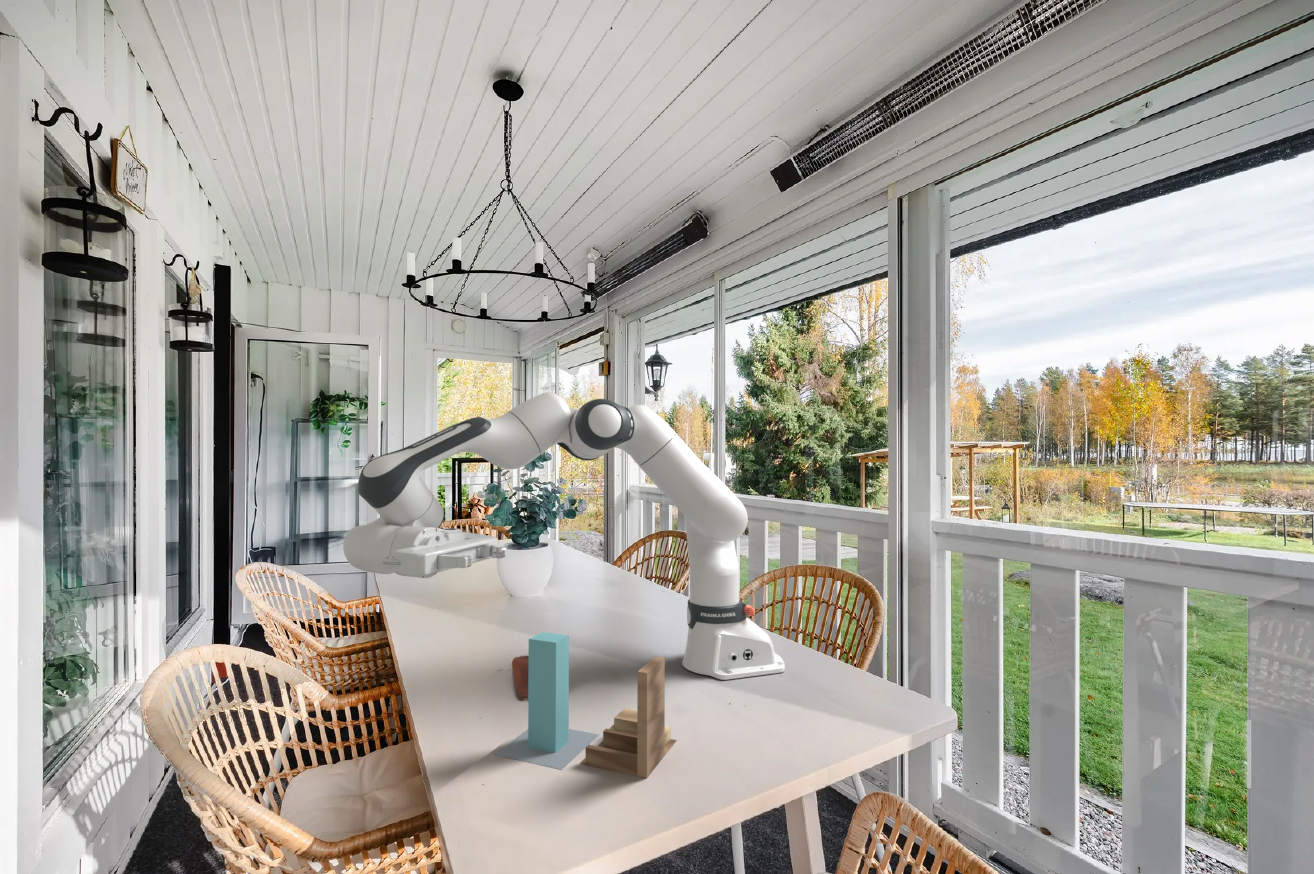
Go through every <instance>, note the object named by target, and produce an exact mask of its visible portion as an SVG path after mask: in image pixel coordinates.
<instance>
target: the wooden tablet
mask: <svg viewBox="0 0 1314 874" xmlns="http://www.w3.org/2000/svg"><path fill="white" fill-rule="evenodd" d="M511 665H512V670H513V676H514V682H515V688H516V694H517V697H518V698H519V700H520V701H523V702H525V701H528V671H529V655H522V656H521V655H520V656H515V657H514V658H513V660H512V662H511Z"/></svg>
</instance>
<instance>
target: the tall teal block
mask: <svg viewBox="0 0 1314 874" xmlns="http://www.w3.org/2000/svg"><path fill="white" fill-rule="evenodd" d="M528 656H529V671H528V700H527V701H528V706H527V708H528V711H527V712H528V714H527V715H528V717H527V718H528V719H527V722H528V723H527V726H528V727H527V730H528V747H531V748H536V749H540V750H545V751H550V752H555V753H556V752H557V751H558V750H559V749H560V748H562V747H563V746H564V745H565V744H566V743H567V742H568V741H569V729H570V727H569V723H570V721H569V720H570V719H569V717H570V716H569V712H570V710H569V709H570V707H569V706H570V702H569V701H570V699H569V697H570V693H569V691H570V688H569V687H570V670H569V669H570V665H569V664H570V635H569V634H562V633H553V632H546V631H541V632H540V633H537V634H535V635H534V636H531V637H530V638H528Z"/></svg>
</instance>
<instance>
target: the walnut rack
mask: <svg viewBox="0 0 1314 874" xmlns="http://www.w3.org/2000/svg"><path fill="white" fill-rule="evenodd" d="M665 660H666V658H665V657H661V656H654V657H653V658H652V659H651V660H649V661H648V662H647V663H645V665H644V666H642V667H641V668H640V669H639V670H638V671H637V681H636V682H637V688H636V689H637V699H636V700H637V703H636V704H637V707H636V708H637V709H636V710H637V734H632V733H627V732H621V731H616V730H611V729H609V728H605V729H604V730H603V731H602V741H601V742H600V743H598V745H593V744H589V745H588V746H587V747H586V748H585V758H583V759H582V760H581V761H580V762H579V765H583V766H588V767H592V768H596V769H601V770H606V771H610V772H611V771H612V772H616V773H619V774H623V775H624V774H625V775H629V776H632V777H633V776H634V777H638V778H642V779H648V778H649V776H650V775H651V774H652V773H653V771H654V770H655V769H656V768H657V766H658V765H659V763H661V761H662V760H663V759H664V758H665V756H666V755H667V753H668V752H669V751H670V750H671V749H672V747H674V745H675V743H676V742H677V741H678V740H677V739H674V738H673V739H672V738H671V740H670V741H669V742H668V743H667V745H666V746H665V726H666V725H665V723H666V721H665V716H666V715H665V711H666V710H665V709H666V708H665V707H666V706H665V704H666V703H665V700H666V698H665V689H666V687H665V686H666V685H665V682H666V678H665V676H666V675H665V674H666V673H665V672H666V671H665V669H666V668H665V666H666V663H665V662H666V661H665Z"/></svg>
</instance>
